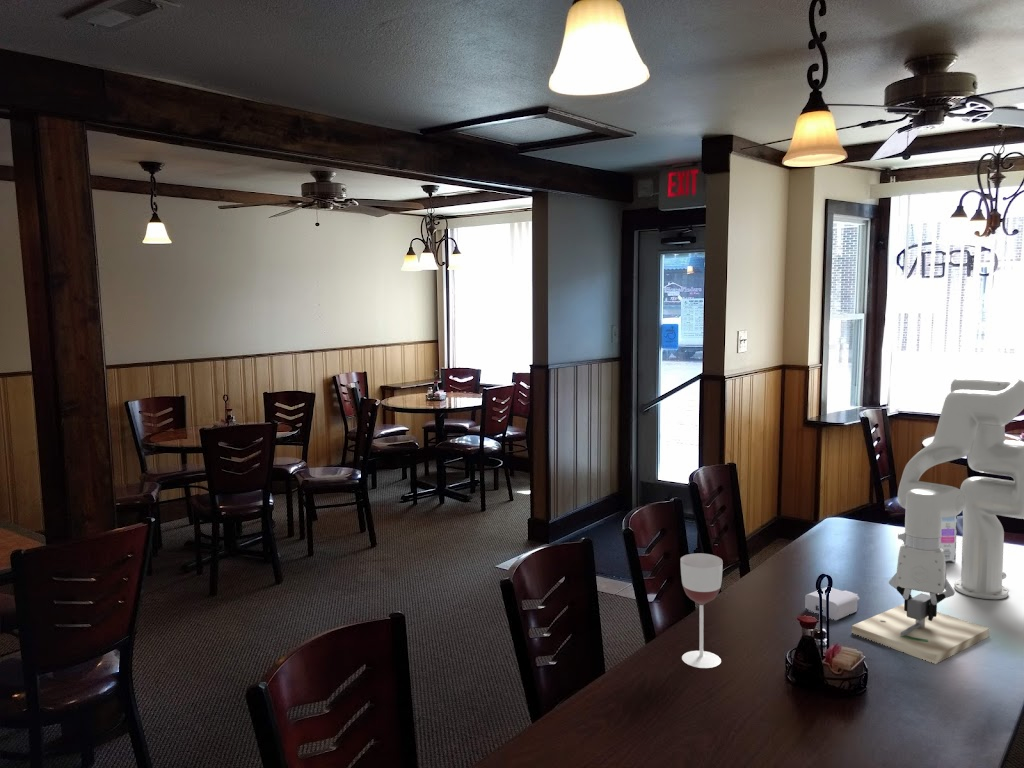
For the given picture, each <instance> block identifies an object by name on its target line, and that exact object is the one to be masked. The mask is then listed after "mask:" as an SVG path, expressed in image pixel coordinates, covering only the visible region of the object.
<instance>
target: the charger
mask: <svg viewBox="0 0 1024 768" xmlns="http://www.w3.org/2000/svg"><path fill="white" fill-rule="evenodd" d="M827 587H828V586H826V587H823V588H821V589H822V591H823V594H822V613H823V610H825V607H826V595H825V590H826V589H827ZM817 591H818V590H815V591H812V592H810V593H807V594H805V596H804V608H807V609H809V610H811V611H813V612H814V613H813V612H812V613H813V614H815V613H818V612H819V594H818V592H817ZM859 600H860V597H859V594H858V593H855V592H852V591H849V590H840V589H837V588H834V587H831V591H830V593H829V617H830V618H831V619H830V618H829V619H830V620H833V619H834V620H833V621H838V620H840V619H843V618H845V617H847V616H850V615H852V614H854V613H856V612H857V611H858V601H859ZM824 614H825V613H824ZM849 614H850V615H849Z"/></svg>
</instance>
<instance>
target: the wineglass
mask: <svg viewBox="0 0 1024 768" xmlns="http://www.w3.org/2000/svg"><path fill="white" fill-rule="evenodd" d="M723 564H724V563H723V559H722V558H721V557H719V556H717V555H713V554H710V553H702V552H700V553H698V552H697V553H690V554H685V555H683V556H681V557H680V576H681V584H682V588H683V591H684V593H685V595H686V596H687V597H688V598H689V599H690V600H691V601H693V602H695V603H697V604H699V610H698V611H699V617H698V618H699V620H698V621H699V624H698V626H699V630H698V631H699V635H698V636H699V638H698V639H699V640H698V641H699V645H698V646H699V650H690V651H687V652H685V653H684V654H683V655H682V656H681V660H682V661H683V662H684V663H685V664H687V665H688V666H691V667H693V668H699V669H710V668H711V669H712V668H715V667H717V666H719V665H720V664H721V663H722V659H721V658H720V657H719V655H717V654H715V653H713V652H711V651H706V650H704V605H706V604H708V603H710V602H712V601H713V600H714V599H716V598H717V597H718V595H719V592H720V590H721V587H722V579H723Z"/></svg>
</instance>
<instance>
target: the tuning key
mask: <svg viewBox="0 0 1024 768" xmlns="http://www.w3.org/2000/svg"><path fill="white" fill-rule="evenodd" d="M930 601H931V598H930V594H926V593H921V592H920V593H919V594H917V595H915V596H913V597H912V598H911V599H909V600H908V605H907V617H910V618H913V619H916V622H915V624H914V625H912V626H911V627H909V628H907V629H906V630H904V631H902V632H901V635H902V636H905V635H907V634H908V633H910V632H912V631H913V630H915V629H917V628H918V627H919V628H924V627H925V618H926V617H927V616H928V614H929V603H930Z"/></svg>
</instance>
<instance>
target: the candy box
mask: <svg viewBox="0 0 1024 768" xmlns="http://www.w3.org/2000/svg"><path fill="white" fill-rule="evenodd" d="M957 525H958V515H957V516H955V517H951V518H942V519H941V548H942V549H943V550H944V555H945V563H956V559H957V557H956V555H957V553H956V551H957V530H958V529H957V528H958V526H957Z"/></svg>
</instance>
